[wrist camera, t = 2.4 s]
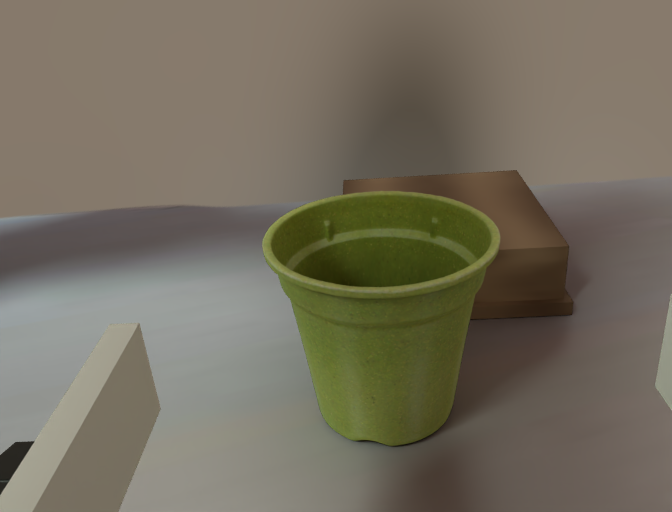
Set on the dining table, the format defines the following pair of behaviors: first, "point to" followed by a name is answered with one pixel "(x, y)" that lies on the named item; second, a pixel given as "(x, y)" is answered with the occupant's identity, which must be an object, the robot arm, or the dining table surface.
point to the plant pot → (383, 304)
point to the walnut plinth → (501, 240)
